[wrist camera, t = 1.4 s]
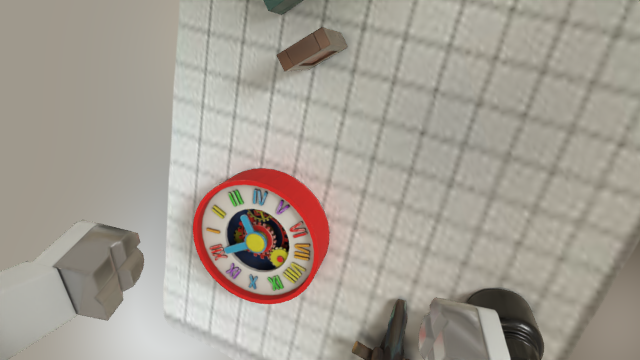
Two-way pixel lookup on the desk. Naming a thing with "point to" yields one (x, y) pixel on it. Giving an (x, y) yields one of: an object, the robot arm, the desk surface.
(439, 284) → the desk surface
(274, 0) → the holder
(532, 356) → the ink bottle
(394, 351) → the bird figurine
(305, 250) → the toy clock
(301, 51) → the frame
